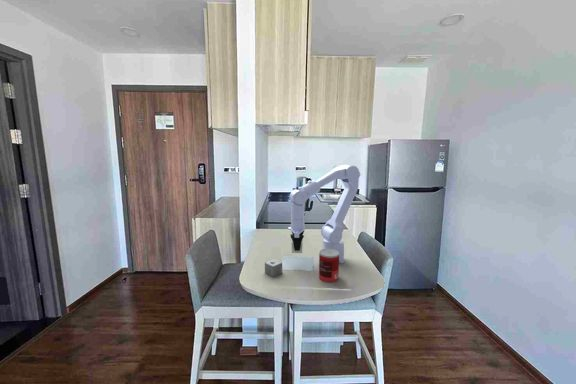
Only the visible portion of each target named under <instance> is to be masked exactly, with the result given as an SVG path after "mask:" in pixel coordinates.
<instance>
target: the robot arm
mask: <svg viewBox="0 0 576 384" xmlns="http://www.w3.org/2000/svg"><path fill="white" fill-rule="evenodd" d="M360 176H361V172H360V170H359V168H358V167H357V166H356V165H349V164H340V165H338V166H336V167H334V168H333V169H331V170H330V171H329V172H328V173H326V174H325V175H323V176H321V177H320V178H319V179H316V180H314V179H313V180H308V181H307V183H306V184H304V185H302V186H298V187H297V188H298V189H293V190H292V191H291V192H290V193H289V196H288V199H289V200H290V202H291V203H290V226H288V228H287V230H289V231H291V233H292V234H290V238H291V242H292V241H293V245H294V250H295V251H300V247H301V242H302V240H303V239H304V237H305V235H304V232H305V229H306V228H305V204H306V202H307V201H308V199H310V198H312V197H313V196H315V195H317V194H318V193H320V192H321V188H322V187H324V186H326V185H328V184H330V183H331V182H333V181H335V180H341V182H342V183H343V185H344V189H343V191H342V194H341V196H340V198H339V200H338V202H337V204H336V207H335V209H334V211H333V213H332V216H331V218H330V219H328V220H327V221H326V223H325V224H324V225H323V226H322V228H321V230H320V234H321V236H322V239H323V240H322V249H335V250H337V251H338V252H339V264H344V258H345V254H344V253H345V243H344V242H343V241H341V240H342V239H343V232H344V226H343V223H344V221H345V218H346V216H347V214H348V212H349V210H350V207H351V205H352V203H353V200H354V199H355V196H356V194H357V192H358V190H359V186H360V185H359V184H360V183H359V179H360Z"/></svg>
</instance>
